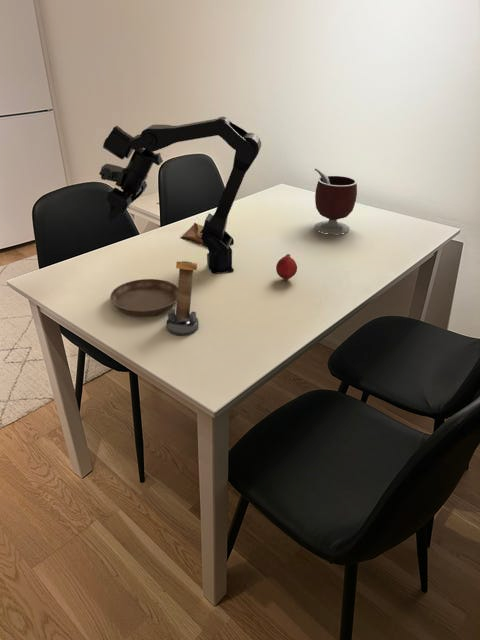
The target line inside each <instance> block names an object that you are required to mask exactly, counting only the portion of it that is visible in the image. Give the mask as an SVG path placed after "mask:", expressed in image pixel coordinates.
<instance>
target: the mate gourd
mask: <svg viewBox="0 0 480 640" xmlns="http://www.w3.org/2000/svg"><path fill="white" fill-rule="evenodd" d="M314 171H315V172H317V173H318V175H319V176H320V177H319V178H318V180H317V181H318V182H317V184H316V187H315V195H314V199H315V200H314V202H315V209H316V210H317V211H318V213H319V215H321V217H323V218H326V219H328V220H325V221H324V220H323V221H319V222H316V223H315V225H314V230H315V229H316V230H318V231H320V232H323V233H328V234H342V233H346V232H348V231H349V232H350V230H351V229H350V228H351V227H350V226H349V225H347V224H346V223H343V222H340V221H338V220H342V219H344V218H345V219H346V218H348V216H349V215H350V214H351V213H352V212H353V210H354V207H355V205H356V201H357V194H358V186H357V183H358V182H357V180H356V179H355V178H352V177H349V176H345V175H334V174H333V175H326V173H325V172H324V171H322V170H320V169H319V168H317V167H316V168H314ZM349 229H350V230H349ZM316 230H315V231H316ZM318 231H317V232H318ZM320 232H319V233H320ZM349 232H348V233H349ZM323 233H322V234H323ZM346 234H347V233H346Z"/></svg>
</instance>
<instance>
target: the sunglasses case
mask: <svg viewBox="0 0 480 640" xmlns="http://www.w3.org/2000/svg"><path fill="white" fill-rule="evenodd" d="M203 226H204V225H201V224H198V223H196V222H193V224H192V226H191V227H189V229H188V230H187V231H185V233H183V235H181V236H179V238H180V239H183V240H187V241H189V242H192V243H194V244H197V245H200V246H203V247H205V248H207V246H206V245H205V244H204V243H203V241H202V240H201V236H202V233H200V232H201V230H202V228H203ZM234 242H235V240H234V237H232V241H231V243H230V247H231V246H234Z"/></svg>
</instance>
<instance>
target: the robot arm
mask: <svg viewBox="0 0 480 640" xmlns="http://www.w3.org/2000/svg"><path fill="white" fill-rule="evenodd" d="M216 136H219V137H220V138H222V140H223V141H224V142H225V143H226V144H227V145H228V146H229V147H230V148H232V149H233V150H234V151H235V153H234V158H233V164H232V165H233V166H232V170H231V172H230V174H229V177H228V179H227V181H226V184H225V186H224V188H223V192H222V193H221V194H222V195H221V197H220V199H219V202H218V204H217V207H216V210H215V212H214V214H212V213H210V212H209V213H208V214H207V216H206V218H205V220H204V224H203V225H202V226H203V228H202V230H201V232H200V233H202V236H201V240H202V241H203V243H204V244H205V245H206V246H207V247H206V248H207V250H208V252H207V254H206V260H207V261H206V266H207V268H208V269H209V270H210V272H211V273H212V274H213V275H214V274H222V273H230V272H231V273H232V272H234V271H235V270H234V268H233V249H232V247H231V246H230V243H231V241H232V238H233V236H232V235H230V234H229V232H227V231H226V229H227V224H228V218H229V214H230V212H231V209H232V207H233V204H234V201H235V199H236V198H237V194H238V193H239V190H240V187H241V185H242V183H243V180H244V177H245V175H246V173H247V172H248V171H249V169H250V167H251V165H253V163H254V161H255V160H256V158H257V157H258V155H259V154H260V153H259V152H260V150H261V147H262V141H261V138H260V137H259V136H258V134H256V133H253V132H248V131H246V130H245V129H244V128H242V127H240V126H239V125H238V124H236V123H234V122H232V121H231V120H230V119H229V118H227V117H226V116H219V117H218V118H213V119H208V120H202V121H196V122H191V123H185V124H179V125H172V124H171V125H170V124H152V125H149V126H148V127H146V128H145V129H143V130H142V131H141V133H140V134H137V135H135V136H133V135H131V134H129V133H127V131H125V130H123V129H122V128H121V127H119V126H118V125H116V126H114V127H113V128H112V130H111V131H110V132H109V134H108V136H107V137H106V138H105V140H104V142H103V145H102V148H103V149H104V150H106V151H107V152H109V153H111V154H112V155H114V156H115V157H117V158H118V159H119V160H124V159H127V160H128V159H129V158H130V160H129V161H128V164H127V166H126V167H122V166H119V165H116V164H111V163H105V164H104V165H102V166H101V168H100V171H99V173H98V175H100V179H101V180H103V181H109V182H114V183H115V186H117V187H118V188H117V187H113V188H111V189H109V190H108V191H107V192H106V194H105V196H104V199H105V200H106V202H107V203H108V204H109V209H108V216H107V217H108V218H107V221H108V222H113V221H114V220H115V219H118V217H119V216H120V215H122V214H123V213H124V212H126V211H127V210H128V209H129V207H130V206H131V204H132V203H133V202H135V201H136V200H137V199H138V198H139V197H141V196H142V194H143V193H144V192H145V191H146V188H147V187H148V183H147V182H146V180H147V179H148V177H149V175H148V174H149V172H150V171H151V169H152V167H153V164H155V165H156V166H160V165H161V164H162V163H163V162H164V160H163V158H162V154H161V152H157V151H159V150H162V149H164V148H168V147H169V146H171V145H174V144H176V143H177V144H178V143H181V142H187V141H192V140H199V139H205V138H211V137H216Z"/></svg>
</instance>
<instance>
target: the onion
mask: <svg viewBox="0 0 480 640" xmlns="http://www.w3.org/2000/svg"><path fill="white" fill-rule="evenodd" d="M275 269H276V274H277V275H278V276H279V278H282V279H283V280H285V281H288V280H290V279H291V278H292V277H294V276H295V275H296V273H297V271H298V264H297V262H296V261H295V259H293V258H292V257H291V254H290V253H286V254H285V256H283V257H282V258H280V259H278V261H277V263H276V266H275Z"/></svg>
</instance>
